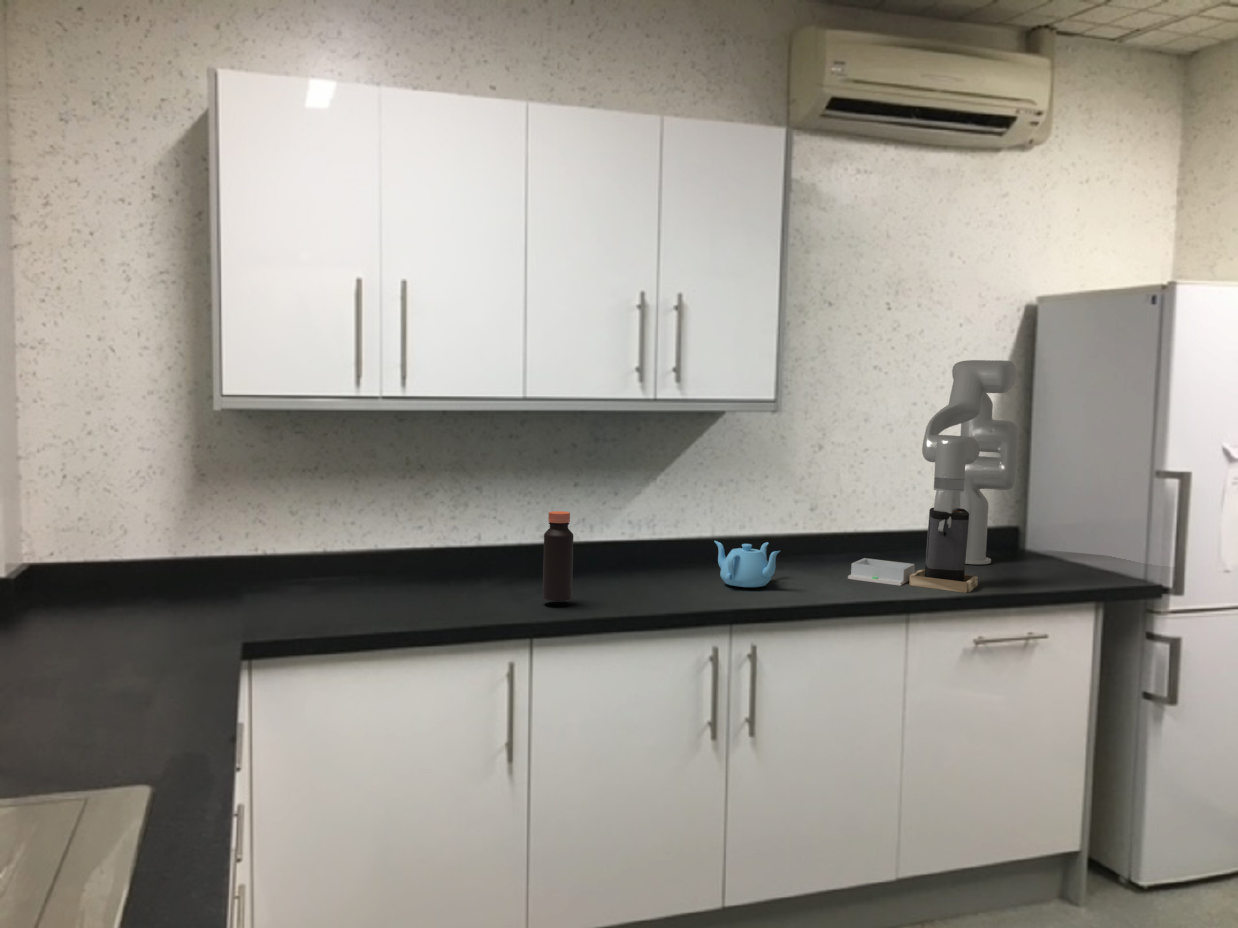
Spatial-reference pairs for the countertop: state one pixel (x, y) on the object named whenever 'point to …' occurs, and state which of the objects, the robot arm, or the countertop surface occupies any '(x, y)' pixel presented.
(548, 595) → the bottle
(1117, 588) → the countertop surface
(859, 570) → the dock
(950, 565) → the electronic device
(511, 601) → the countertop surface
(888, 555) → the countertop surface
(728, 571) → the teapot
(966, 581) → the wooden tray
